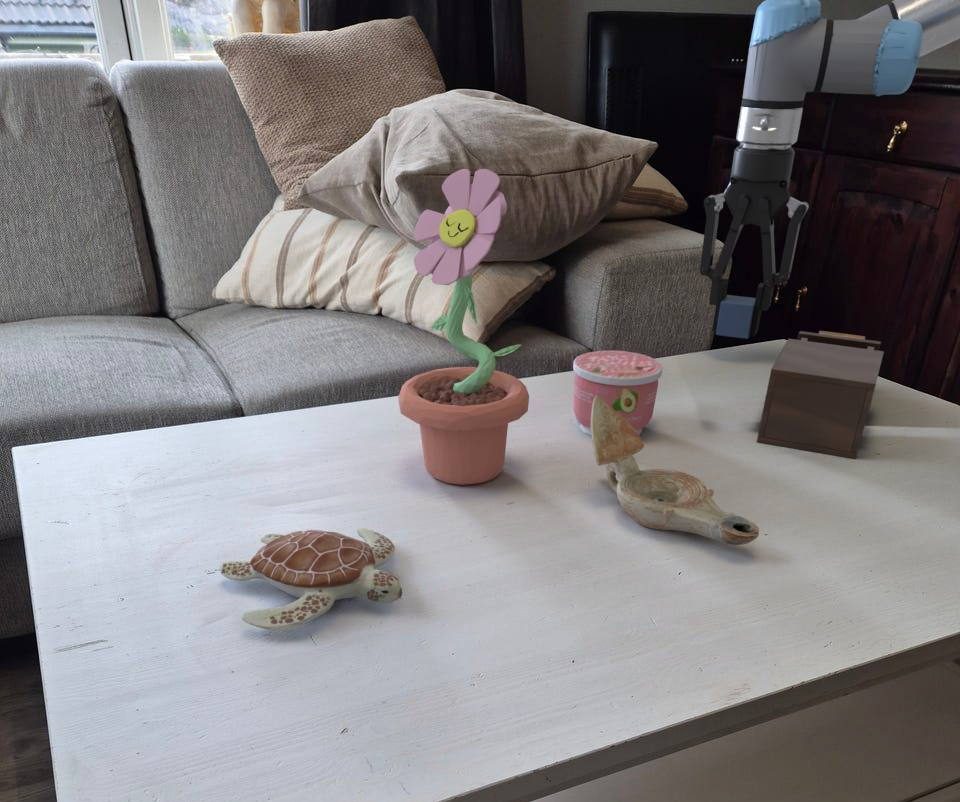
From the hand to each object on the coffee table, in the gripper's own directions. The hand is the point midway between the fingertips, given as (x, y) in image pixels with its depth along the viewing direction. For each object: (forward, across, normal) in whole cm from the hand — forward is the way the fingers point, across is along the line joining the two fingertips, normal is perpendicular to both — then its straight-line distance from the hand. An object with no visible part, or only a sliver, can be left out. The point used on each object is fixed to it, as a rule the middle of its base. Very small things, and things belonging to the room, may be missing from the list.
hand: (735, 330), depth 131 cm
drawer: (+5, +14, -9) cm, 17 cm away
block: (0, 0, 0) cm, 0 cm away
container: (+5, -9, -30) cm, 32 cm away
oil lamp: (+6, +4, -52) cm, 53 cm away
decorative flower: (+5, -20, -50) cm, 54 cm away
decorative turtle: (+5, -20, -78) cm, 81 cm away
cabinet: (+5, +14, -20) cm, 25 cm away
